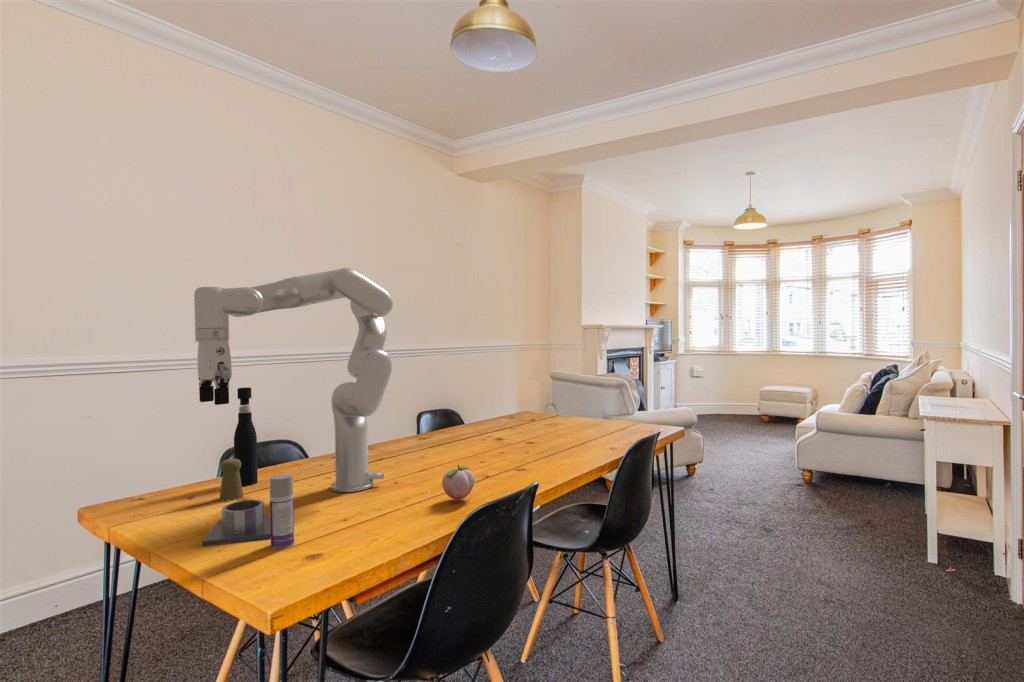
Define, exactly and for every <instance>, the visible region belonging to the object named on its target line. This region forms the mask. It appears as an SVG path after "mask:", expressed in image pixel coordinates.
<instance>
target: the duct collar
mask: <svg viewBox="0 0 1024 682" xmlns="http://www.w3.org/2000/svg"><path fill="white" fill-rule="evenodd" d="M268 539H269V540H270V539H271V524H270V514H267V515H266V514H265V501H263V500H260V499H248V500H247V499H244V500H239V501H233V502H231V503H229V504H228V503H227V504H226V505H223V507H222V508H221V519H218V520H217V521H216V523H215V524H214V525H213V527H211V529H210V531H208V533H207V534H206V535H205V537H204V538H203V539H202V541H201V546H202V547H205V546H204V545H206V546H214V545H222V544H231V543H239V542H240V541H242V542H250V541H259V540H268ZM240 543H241V542H240Z"/></svg>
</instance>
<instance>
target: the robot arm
mask: <svg viewBox="0 0 1024 682" xmlns="http://www.w3.org/2000/svg"><path fill="white" fill-rule="evenodd" d="M193 293H194V296H193V297H194V299H193V301H194V303H193V304H194V334H195V335H194V339H195V342H196V343H198V344H197V346H198V347H197V375H198V376H197V377H198V380H199V381H198V386H199V388H198V391H199V392H198V393H199V402H200V403H207V402H213V401H214V405H216V406H218V405H227V404H229V403H230V379H232V377H233V370H232V357H231V356H232V355H231V351H230V343H229V342H230V325H229V324H230V321H229V320H230V318H229V317H230V316H231V317H236V318H243V317H249V316H253V315H256V314H260V313H265V312H270V311H275V310H276V311H277V310H284V309H285V310H286V309H297V308H300V307H301V308H302V307H305V306H306V307H307V306H312V305H315V304H321V303H324V302H330V301H335V300H339V299H344V298H346V299H348V300H349V301H350V303H349V304H350V310H351V312H352V314H353V315H354V317H355V319H356V321H357V324H358V332H357V337H356V339H355V342H354V345H353V347H352V351H351V353H350V355H349V357H348V358H349V359H348V362H347V366H346V367H347V372H348V374H349V375H350V376H351V377H352V378H354V379H356V381H355V382H353V381H350V382H349V381H346V382H344V383H341V384H339V385H337V386H336V387H335V389H334V390H333V392H332V394H331V408H332V413H333V421H334V423H333V424H334V458H335V459H334V460H335V461H334V463H335V464H334V465H335V467H334V468H335V469H334V470H335V481H332V482H331V483H330V486H329V488H330V490H331V491H332V492H336V493H354V492H355V491H356V492H360V491H365V490H368V489H370V488H372V487H373V486H374V484H375V482H374V480H383V479H385V476H384V475H385V474H384V472H380V471H375V472H372V471H370V468H369V447H368V446H369V444H368V443H369V441H368V436H369V432H368V430H369V429H368V428H369V427H368V421H367V420H368V419H367V417H369V416H372V415H373V414H375V412H377V410H378V409H379V407H380V405H381V404H382V401H383V398H384V395H385V392H386V389H387V386H388V383H389V381H390V378H391V374H392V367H393V366H392V365H393V364H392V360H391V358H390V355H389V354H388V352H386V351H384V347H385V342H386V339H387V327H386V322H385V319H384V318H385V317H386V316H388V315H389V314H391V311H392V309H393V306H394V305H393V299H392V296H391V295H390V293H389V292H388V291H387V290H385V289H384V288H382V286H380V285H378V284H376V283H375V282H373V281H372V280H370V279H369V278H367V277H366V276H364V275H363V274H362V273H359V272H358V271H356V270H354V269H353V268H348V267H342V268H337V269H334V270H327V271H323V272H316V273H310V274H306V275H298V276H297V275H296V276H292V277H287V278H284V279H281V280H278V281H274V282H271V283H265V284H262V285H255V286H249V287H248V286H242V287H229V288H228V287H227V288H226V287H225V288H224V287H220V286H219V287H218V286H201V287H197V288H196V289H195V290H194V292H193ZM213 382H214V385H212V384H213ZM214 386H215V388H214Z"/></svg>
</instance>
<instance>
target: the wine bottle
mask: <svg viewBox="0 0 1024 682" xmlns="http://www.w3.org/2000/svg"><path fill="white" fill-rule="evenodd" d="M250 399H252V387H249V386H248V387H238V388H237V400H239V408H238V410H239V411H238V413H237V419H238V421H237V424H236V428H235V431H234V435H233V459H238V460H240V462H241V468H240V469H239V473H240V479H241V485H242V487H247V486H246V485H250V486H253V485H252V484H254V485H256V484H258V482H259V481H258V479H259V478H258V438H257V437H258V436H257V431H256V428H255V425H254V423H253V421H252V419H253V418H252V412H251V406H250Z"/></svg>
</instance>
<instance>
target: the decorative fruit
mask: <svg viewBox="0 0 1024 682" xmlns="http://www.w3.org/2000/svg"><path fill="white" fill-rule="evenodd" d="M475 482H476V478H475V475H474V474H473V473H472V471H471V468H470V467H469V466H465V465H459V464H457V467H455V468H452V469H449V470H447V472H445V474H444V475H443V477H442V483H441V486H442V489H443V491H444V492H445V494H446V495H447V496H448V497H449V498H451V499H452V500H455V501H458V502H460V501H462V500H464V499H465V498H467V496H469V495H470V493H471V492H472V490H473V488H474V486H475Z"/></svg>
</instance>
